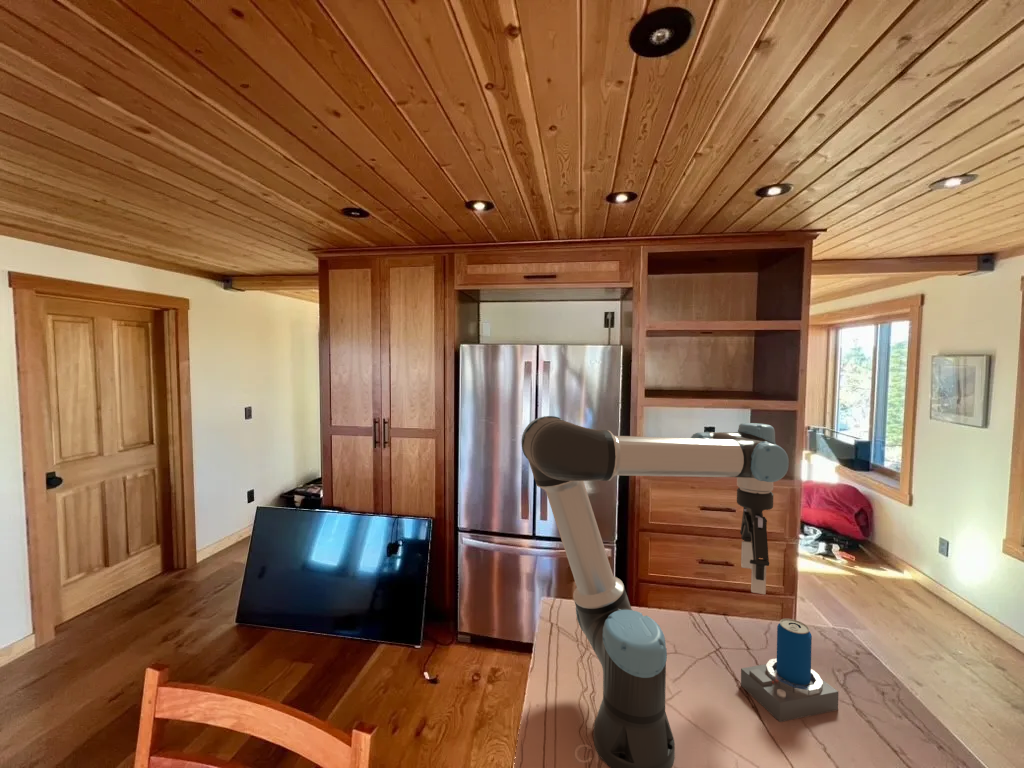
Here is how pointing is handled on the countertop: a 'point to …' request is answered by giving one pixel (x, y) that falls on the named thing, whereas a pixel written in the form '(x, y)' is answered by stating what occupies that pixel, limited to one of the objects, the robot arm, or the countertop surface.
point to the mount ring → (794, 688)
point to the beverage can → (794, 652)
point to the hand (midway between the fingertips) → (752, 579)
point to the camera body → (786, 696)
